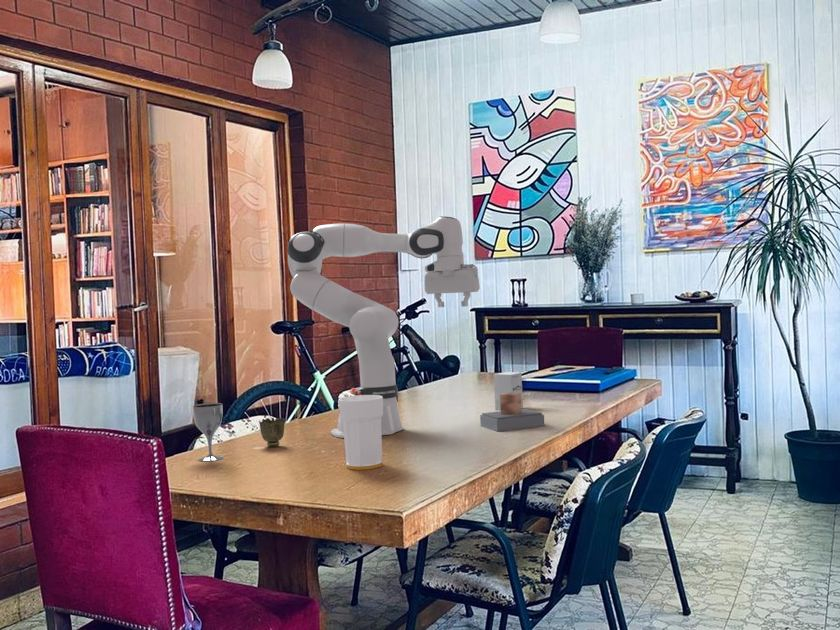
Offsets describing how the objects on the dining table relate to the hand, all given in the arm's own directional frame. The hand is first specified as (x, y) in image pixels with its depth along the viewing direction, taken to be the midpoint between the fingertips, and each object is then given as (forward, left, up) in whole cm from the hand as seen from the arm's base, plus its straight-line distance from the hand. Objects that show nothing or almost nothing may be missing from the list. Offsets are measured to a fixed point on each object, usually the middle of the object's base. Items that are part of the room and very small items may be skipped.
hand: (452, 306), depth 287 cm
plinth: (+7, -26, -37) cm, 46 cm away
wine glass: (-84, -22, -37) cm, 94 cm away
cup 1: (-65, -14, -37) cm, 76 cm away
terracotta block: (+7, -26, -33) cm, 43 cm away
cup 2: (-50, -56, -37) cm, 84 cm away
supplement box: (+22, +6, -37) cm, 44 cm away
